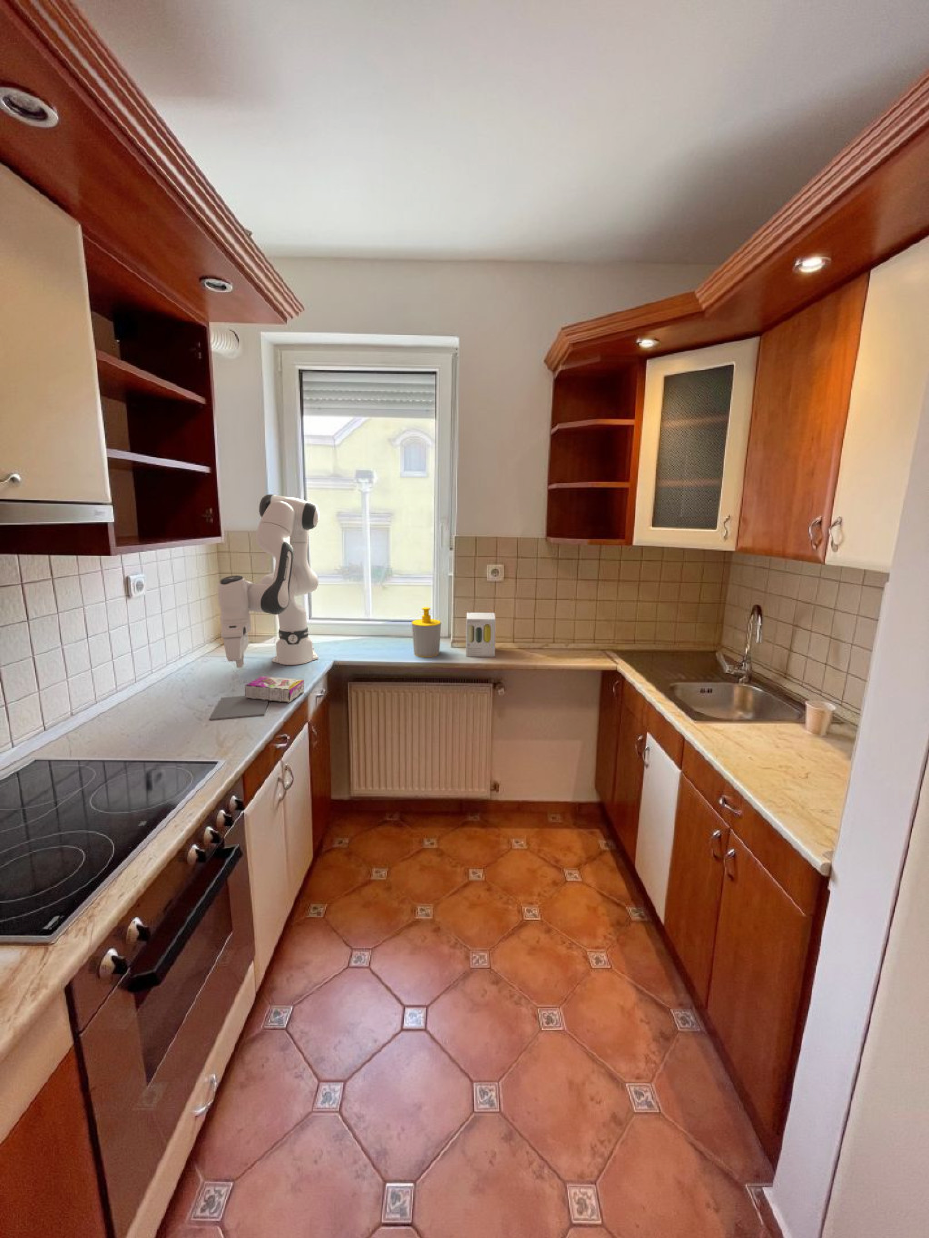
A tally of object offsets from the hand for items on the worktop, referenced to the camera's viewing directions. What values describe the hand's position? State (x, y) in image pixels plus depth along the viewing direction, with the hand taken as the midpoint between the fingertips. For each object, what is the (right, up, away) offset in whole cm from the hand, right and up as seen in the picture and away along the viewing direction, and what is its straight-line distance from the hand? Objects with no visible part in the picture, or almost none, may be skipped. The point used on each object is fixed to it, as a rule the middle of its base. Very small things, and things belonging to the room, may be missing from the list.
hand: (240, 666), depth 167 cm
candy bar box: (0, -8, +10) cm, 13 cm away
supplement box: (+82, 0, +63) cm, 104 cm away
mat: (+1, -14, 0) cm, 14 cm away
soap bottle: (+58, 0, +61) cm, 84 cm away
